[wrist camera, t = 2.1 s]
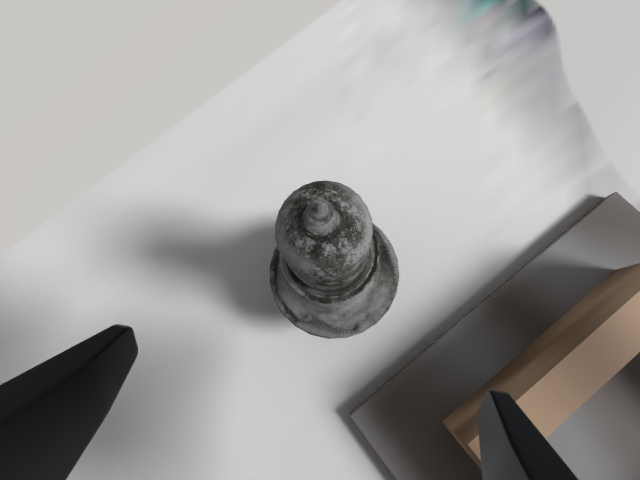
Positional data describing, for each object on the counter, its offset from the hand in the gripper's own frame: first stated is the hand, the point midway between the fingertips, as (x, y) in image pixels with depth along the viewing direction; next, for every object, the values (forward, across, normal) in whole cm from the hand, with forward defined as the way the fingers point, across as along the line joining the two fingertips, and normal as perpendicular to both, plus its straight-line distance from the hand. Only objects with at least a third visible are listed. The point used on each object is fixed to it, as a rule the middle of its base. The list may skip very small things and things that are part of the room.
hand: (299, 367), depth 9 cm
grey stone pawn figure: (+10, 0, +5) cm, 11 cm away
